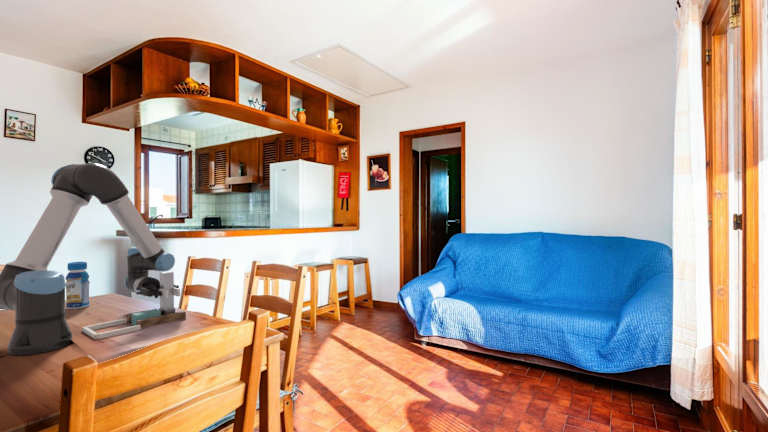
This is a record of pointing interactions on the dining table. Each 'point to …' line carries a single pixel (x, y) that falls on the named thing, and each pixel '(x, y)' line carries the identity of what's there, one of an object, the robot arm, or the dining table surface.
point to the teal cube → (138, 317)
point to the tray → (94, 335)
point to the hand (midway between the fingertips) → (173, 293)
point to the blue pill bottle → (77, 286)
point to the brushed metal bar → (168, 285)
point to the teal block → (153, 313)
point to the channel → (158, 319)
